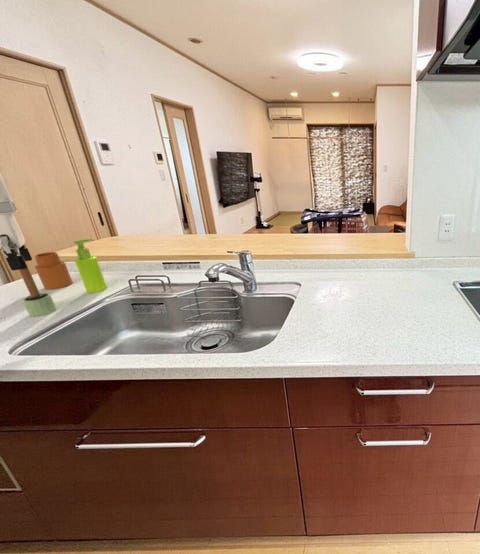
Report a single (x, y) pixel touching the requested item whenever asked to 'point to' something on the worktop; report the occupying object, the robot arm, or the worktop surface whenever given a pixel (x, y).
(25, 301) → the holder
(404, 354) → the worktop surface
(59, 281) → the orange brown jar
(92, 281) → the soap dispenser
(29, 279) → the brush
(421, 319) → the worktop surface
